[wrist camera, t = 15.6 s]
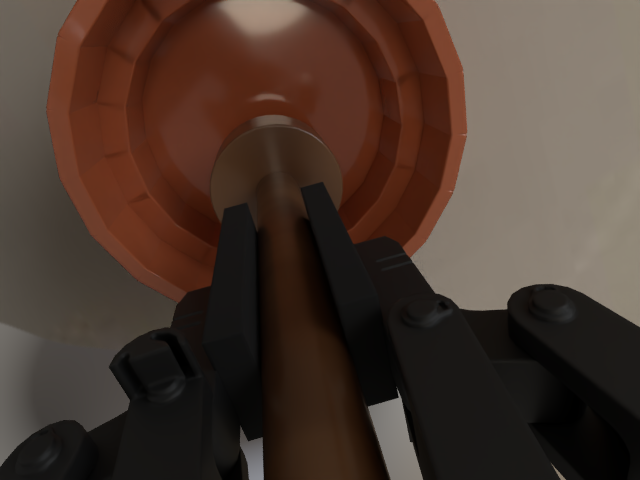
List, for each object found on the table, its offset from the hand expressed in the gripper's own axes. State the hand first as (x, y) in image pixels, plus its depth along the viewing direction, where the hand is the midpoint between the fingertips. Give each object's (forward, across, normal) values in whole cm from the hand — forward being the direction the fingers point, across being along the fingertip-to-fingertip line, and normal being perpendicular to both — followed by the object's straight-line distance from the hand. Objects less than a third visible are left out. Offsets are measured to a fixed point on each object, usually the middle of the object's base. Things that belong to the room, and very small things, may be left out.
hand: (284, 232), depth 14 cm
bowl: (+10, 0, +2) cm, 10 cm away
